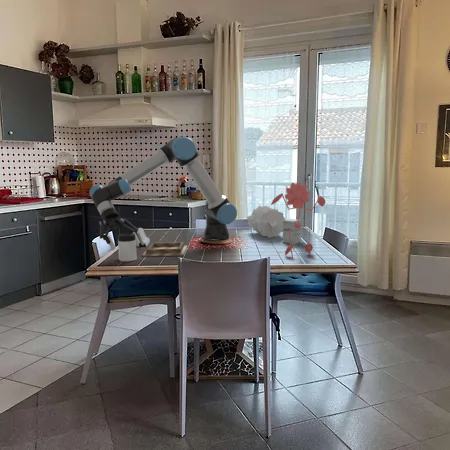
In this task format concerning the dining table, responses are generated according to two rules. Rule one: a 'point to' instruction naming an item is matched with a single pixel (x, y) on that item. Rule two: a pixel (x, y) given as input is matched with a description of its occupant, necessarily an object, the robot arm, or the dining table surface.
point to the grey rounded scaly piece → (266, 221)
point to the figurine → (297, 198)
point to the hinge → (142, 237)
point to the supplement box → (294, 234)
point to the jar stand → (166, 249)
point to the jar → (127, 247)
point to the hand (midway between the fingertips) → (126, 246)
